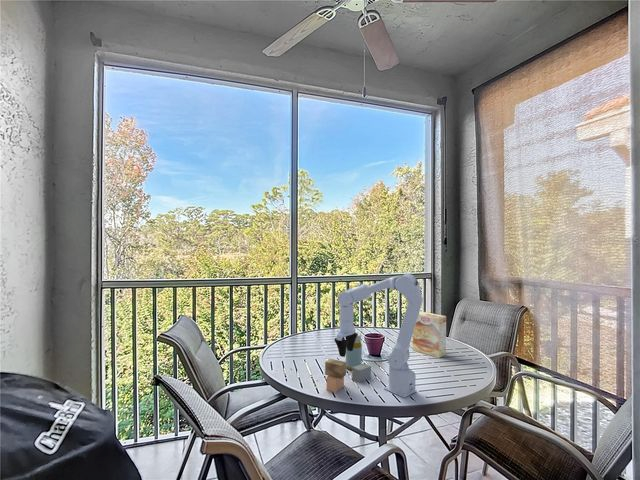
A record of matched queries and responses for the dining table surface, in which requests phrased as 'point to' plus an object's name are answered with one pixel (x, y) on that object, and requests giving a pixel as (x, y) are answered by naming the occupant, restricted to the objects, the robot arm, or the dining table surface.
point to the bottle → (354, 354)
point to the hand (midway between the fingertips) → (346, 353)
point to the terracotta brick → (334, 383)
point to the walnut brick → (335, 368)
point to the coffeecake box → (430, 334)
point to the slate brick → (361, 372)
